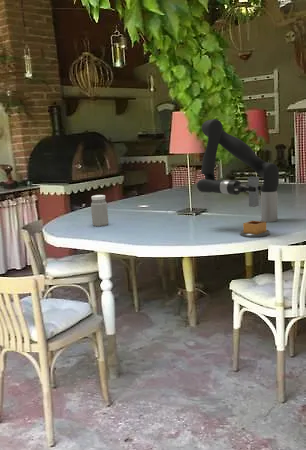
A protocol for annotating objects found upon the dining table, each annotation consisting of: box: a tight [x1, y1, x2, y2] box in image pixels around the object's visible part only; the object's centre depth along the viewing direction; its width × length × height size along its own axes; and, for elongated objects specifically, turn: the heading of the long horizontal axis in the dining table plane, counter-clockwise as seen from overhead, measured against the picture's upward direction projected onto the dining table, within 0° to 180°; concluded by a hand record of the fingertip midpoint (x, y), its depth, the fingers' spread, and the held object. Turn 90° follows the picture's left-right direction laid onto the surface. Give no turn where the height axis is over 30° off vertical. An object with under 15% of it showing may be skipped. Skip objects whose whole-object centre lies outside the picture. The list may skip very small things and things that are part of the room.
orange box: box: [240, 220, 271, 239], centre depth 274 cm, size 15×15×6 cm
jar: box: [90, 194, 109, 227], centre depth 323 cm, size 10×10×18 cm
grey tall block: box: [247, 175, 260, 208], centre depth 270 cm, size 4×4×15 cm
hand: (258, 188), depth 268 cm, fingers closed on grey tall block, 4 cm apart
